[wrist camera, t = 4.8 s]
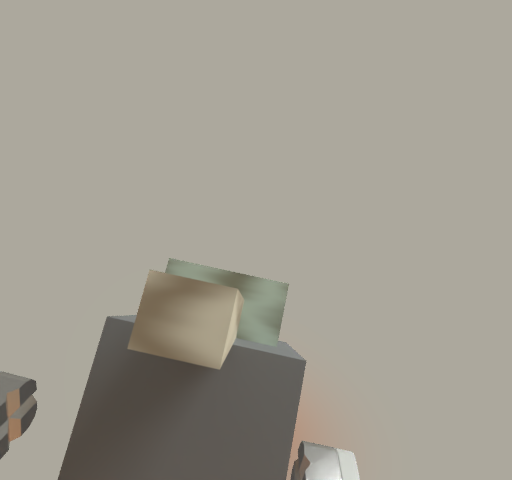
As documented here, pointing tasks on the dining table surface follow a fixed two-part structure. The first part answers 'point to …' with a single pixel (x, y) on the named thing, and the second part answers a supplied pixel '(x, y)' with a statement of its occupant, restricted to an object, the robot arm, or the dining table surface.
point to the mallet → (205, 313)
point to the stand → (185, 413)
